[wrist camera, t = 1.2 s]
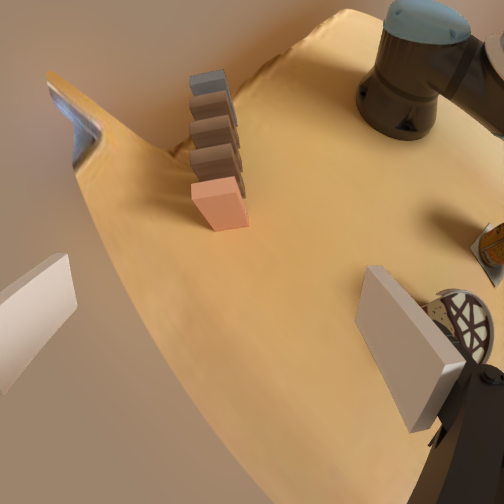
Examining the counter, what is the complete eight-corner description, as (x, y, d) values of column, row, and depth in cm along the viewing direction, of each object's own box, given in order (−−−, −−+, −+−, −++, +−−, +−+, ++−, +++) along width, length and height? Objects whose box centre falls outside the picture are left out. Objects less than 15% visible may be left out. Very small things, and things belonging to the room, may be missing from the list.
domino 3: (210, 166, 48) (189, 122, 36) (241, 161, 48) (228, 114, 36) (211, 177, 48) (189, 134, 36) (242, 171, 47) (229, 126, 36)
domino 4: (212, 191, 47) (189, 151, 35) (244, 186, 46) (230, 143, 35) (213, 203, 46) (190, 164, 35) (245, 198, 46) (232, 157, 34)
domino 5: (214, 218, 46) (191, 183, 34) (247, 213, 45) (234, 176, 34) (215, 231, 45) (191, 199, 34) (249, 226, 45) (236, 192, 33)
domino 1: (207, 122, 50) (189, 76, 39) (236, 117, 50) (223, 69, 38) (208, 131, 50) (189, 85, 38) (237, 126, 49) (224, 78, 38)
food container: (469, 353, 37) (506, 356, 27) (439, 373, 37) (474, 382, 27) (443, 281, 40) (478, 269, 30) (411, 299, 40) (443, 291, 30)
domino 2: (209, 143, 49) (189, 97, 38) (238, 138, 49) (225, 90, 37) (209, 153, 49) (189, 108, 37) (239, 148, 48) (226, 100, 37)
